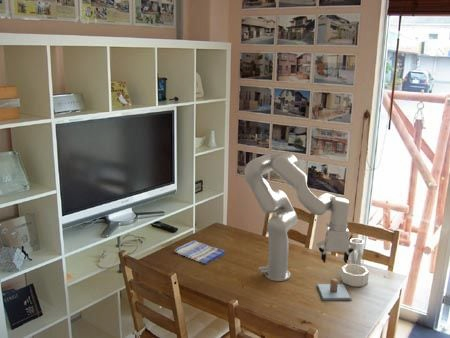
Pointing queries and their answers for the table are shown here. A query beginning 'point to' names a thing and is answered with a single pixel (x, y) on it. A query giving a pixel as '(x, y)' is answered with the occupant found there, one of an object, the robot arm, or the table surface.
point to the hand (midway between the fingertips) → (334, 261)
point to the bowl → (354, 275)
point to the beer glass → (356, 251)
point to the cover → (333, 290)
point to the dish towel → (199, 252)
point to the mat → (334, 299)
